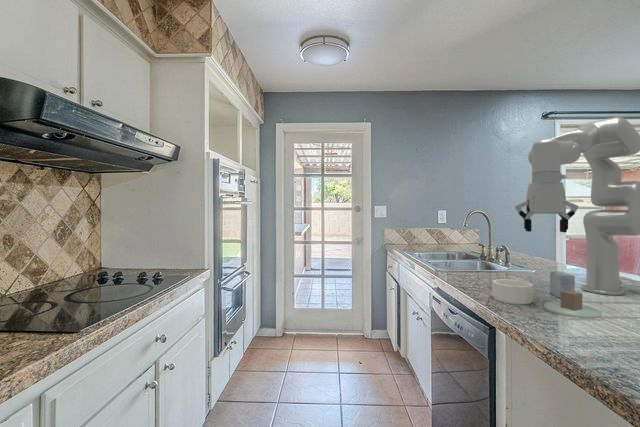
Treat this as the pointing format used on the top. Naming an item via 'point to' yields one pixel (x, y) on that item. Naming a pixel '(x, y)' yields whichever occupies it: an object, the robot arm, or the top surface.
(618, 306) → the top surface
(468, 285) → the top surface
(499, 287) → the bowl
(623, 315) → the top surface
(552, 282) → the medicine box
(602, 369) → the top surface
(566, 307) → the lid
